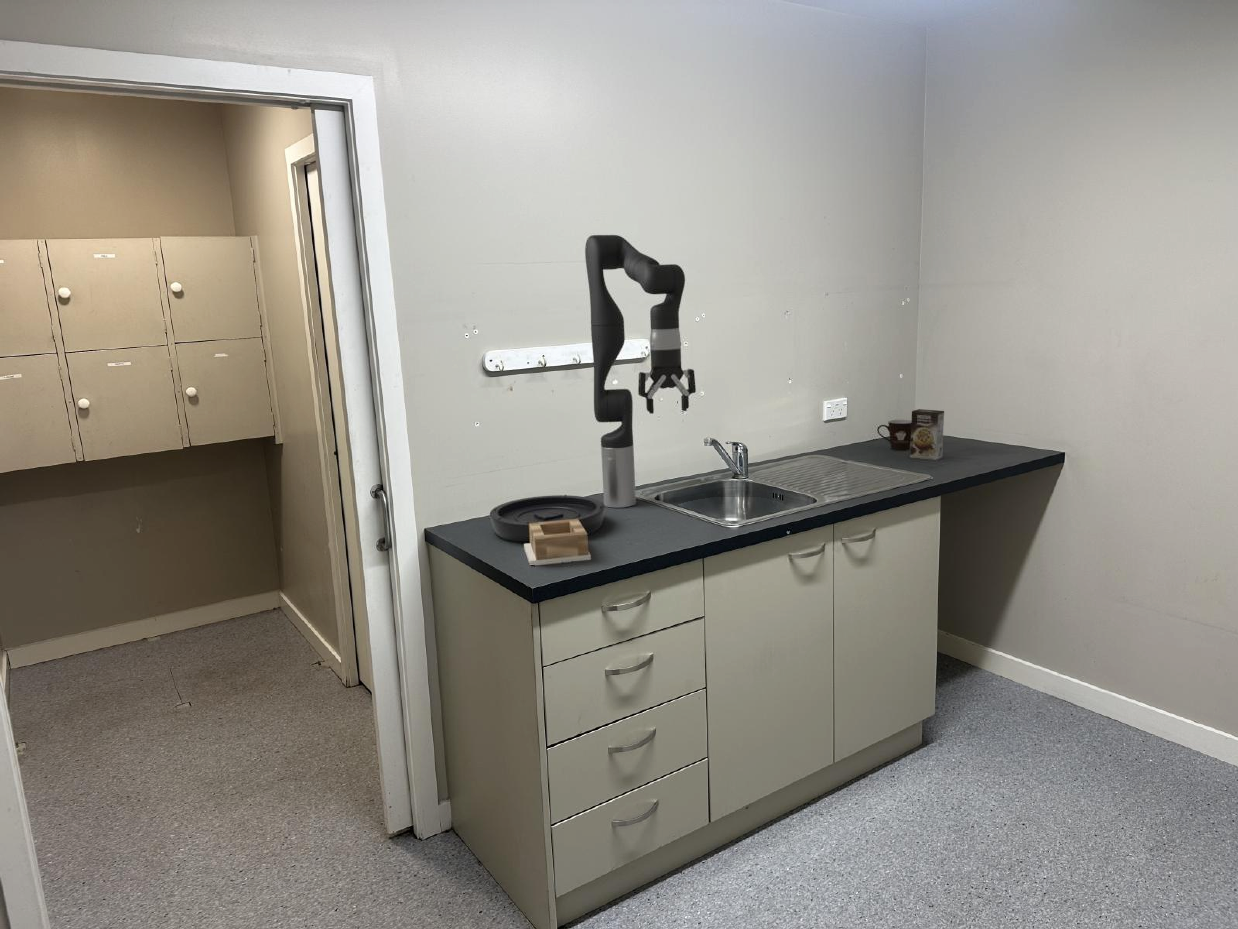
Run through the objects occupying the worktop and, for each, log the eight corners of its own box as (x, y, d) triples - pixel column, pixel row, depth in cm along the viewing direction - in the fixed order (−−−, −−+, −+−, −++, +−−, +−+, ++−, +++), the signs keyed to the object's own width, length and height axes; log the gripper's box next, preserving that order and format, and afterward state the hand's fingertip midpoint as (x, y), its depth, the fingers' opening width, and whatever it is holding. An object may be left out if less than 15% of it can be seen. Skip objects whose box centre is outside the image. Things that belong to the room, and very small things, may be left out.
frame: (530, 543, 207) (528, 523, 206) (578, 538, 209) (577, 518, 208) (536, 560, 194) (535, 539, 193) (588, 554, 196) (587, 533, 195)
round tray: (564, 508, 245) (470, 529, 227) (563, 488, 243) (469, 508, 226) (628, 529, 221) (529, 554, 204) (627, 506, 220) (528, 530, 202)
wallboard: (524, 548, 207) (522, 530, 206) (580, 542, 210) (580, 525, 209) (530, 566, 194) (529, 547, 193) (590, 559, 196) (589, 540, 195)
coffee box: (909, 457, 291) (910, 411, 288) (916, 454, 296) (917, 408, 292) (936, 460, 285) (937, 412, 282) (943, 457, 290) (944, 409, 287)
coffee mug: (916, 448, 307) (917, 420, 305) (906, 452, 300) (907, 424, 298) (886, 445, 314) (886, 418, 312) (875, 449, 308) (876, 421, 306)
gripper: (689, 344, 216) (690, 408, 219) (634, 347, 213) (636, 412, 216) (697, 346, 209) (699, 411, 212) (640, 349, 206) (643, 416, 209)
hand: (667, 411), depth 214 cm, fingers open, 8 cm apart
